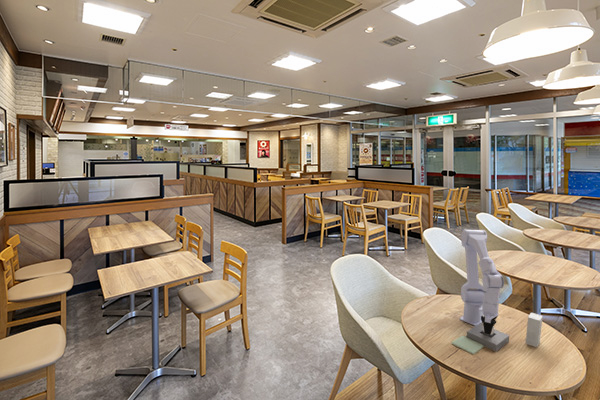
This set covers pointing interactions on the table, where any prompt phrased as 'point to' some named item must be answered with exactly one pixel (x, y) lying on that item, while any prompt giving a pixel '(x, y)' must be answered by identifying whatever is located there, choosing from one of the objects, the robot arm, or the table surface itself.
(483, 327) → the plug
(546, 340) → the table surface
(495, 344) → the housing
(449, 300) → the table surface
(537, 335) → the skincare box
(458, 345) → the mat
